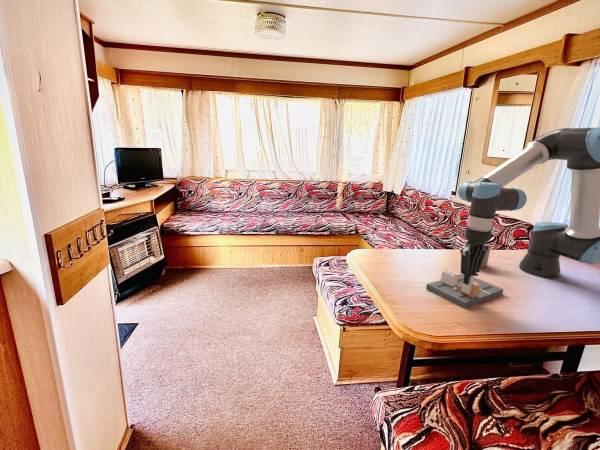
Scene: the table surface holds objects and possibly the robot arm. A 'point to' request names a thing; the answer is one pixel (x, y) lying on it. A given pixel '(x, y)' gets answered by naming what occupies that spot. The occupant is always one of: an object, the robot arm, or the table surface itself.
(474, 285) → the block
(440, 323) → the table surface
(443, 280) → the block
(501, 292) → the grey slider base plate
